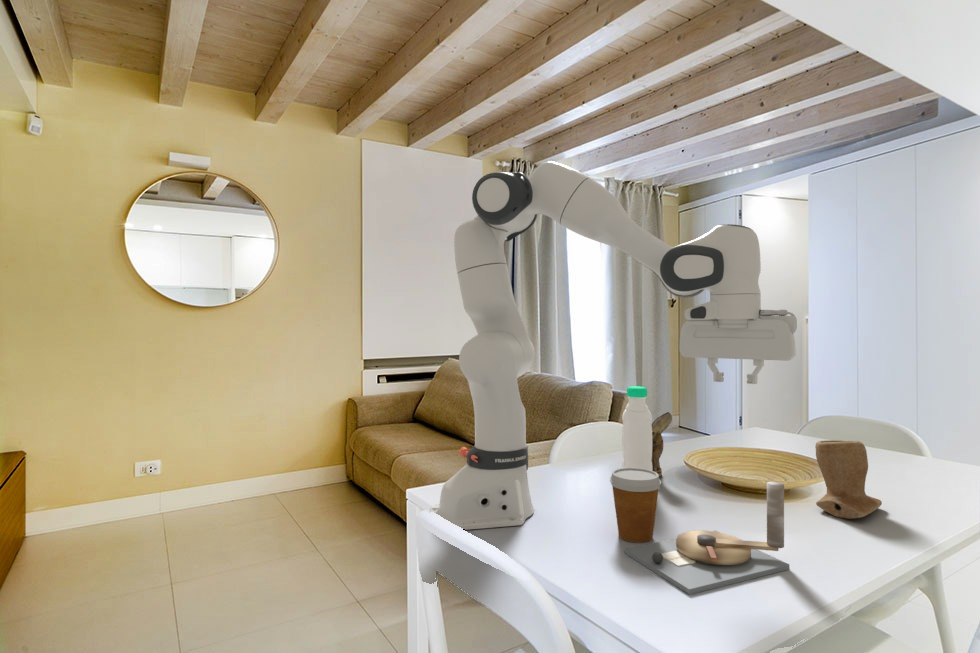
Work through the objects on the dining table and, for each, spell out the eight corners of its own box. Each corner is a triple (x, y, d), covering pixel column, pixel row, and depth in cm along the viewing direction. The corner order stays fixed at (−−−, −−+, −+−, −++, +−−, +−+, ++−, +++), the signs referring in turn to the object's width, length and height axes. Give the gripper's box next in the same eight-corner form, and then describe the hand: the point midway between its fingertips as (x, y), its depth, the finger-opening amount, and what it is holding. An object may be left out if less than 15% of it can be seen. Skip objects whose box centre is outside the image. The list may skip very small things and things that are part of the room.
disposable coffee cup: (603, 527, 110) (603, 467, 110) (650, 525, 110) (650, 466, 110) (619, 547, 100) (618, 481, 100) (669, 545, 101) (669, 480, 101)
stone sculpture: (655, 486, 137) (654, 413, 136) (619, 472, 149) (618, 406, 148) (681, 481, 141) (681, 410, 140) (644, 468, 153) (644, 403, 152)
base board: (689, 594, 83) (689, 577, 83) (624, 553, 98) (624, 538, 98) (789, 569, 91) (789, 553, 91) (715, 534, 106) (715, 521, 106)
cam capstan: (681, 564, 90) (681, 491, 90) (672, 533, 103) (672, 469, 103) (797, 574, 86) (797, 498, 86) (773, 541, 99) (773, 474, 99)
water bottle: (649, 486, 137) (649, 385, 136) (655, 495, 130) (654, 388, 129) (620, 485, 137) (620, 385, 137) (624, 494, 130) (624, 388, 130)
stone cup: (827, 495, 128) (827, 431, 128) (888, 509, 119) (888, 439, 119) (799, 510, 119) (799, 440, 119) (863, 526, 109) (863, 450, 109)
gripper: (799, 309, 101) (799, 384, 102) (687, 311, 114) (687, 378, 114) (793, 309, 96) (793, 388, 97) (676, 310, 109) (676, 381, 109)
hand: (735, 382), depth 105 cm, fingers open, 5 cm apart
